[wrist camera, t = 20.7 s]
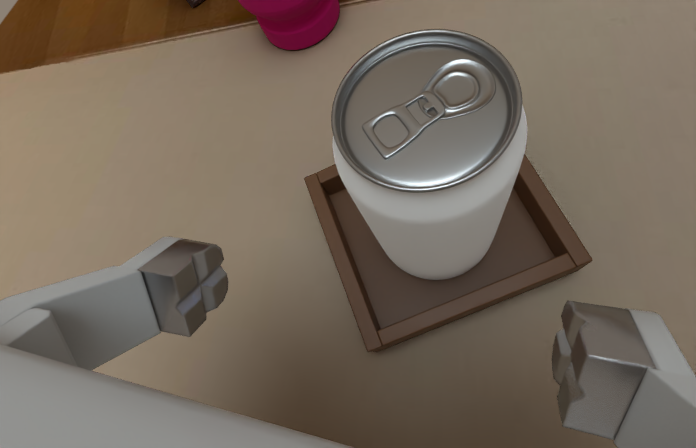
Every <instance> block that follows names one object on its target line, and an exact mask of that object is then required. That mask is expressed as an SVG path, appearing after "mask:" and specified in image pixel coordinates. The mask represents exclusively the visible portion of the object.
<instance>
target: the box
mask: <svg viewBox="0 0 696 448" xmlns="http://www.w3.org/2000/svg"><path fill="white" fill-rule="evenodd" d="M186 1H187V2H188V3H189V4H190V6H191V7H194V6H197V5H198V4H200V3H201V2H202V1H204V0H186Z"/></svg>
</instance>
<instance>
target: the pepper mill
mask: <svg viewBox="0 0 696 448" xmlns="http://www.w3.org/2000/svg"><path fill="white" fill-rule="evenodd" d="M238 1H239V2H240V4H241V5H242V6H243V7H244V8H245V9H246V10H248V11H249V12H251V13H252V14H254V15H256V17H257V20H258V22H259V24H260V26H261V28H262V30H263V31H264V33H265V35H266V36H267V38H268V40H269V41H270V42H271V43H272V44H274V45H275V46H277V47H279V48H282V49H286V50H299V49H303V48H307V47H309V46H312V45H314V44H316V43H317V42H319V41H320V40H322V39H323V38H325V37H326V36H327V35H328V34H329V32H330V31H331V30H332V29H333V28H334V26H335V24H336V22H337V20H338V17H339V11H340V7H339V1H338V0H238Z"/></svg>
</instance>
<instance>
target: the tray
mask: <svg viewBox="0 0 696 448" xmlns="http://www.w3.org/2000/svg"><path fill="white" fill-rule="evenodd" d="M304 180H305V182H306V185H307V188H308V191H309V193H310V196H311V199H312V201H313V204H314V207H315V210H316V212H317V215H318V218H319V221H320V223H321V226H322V229H323V231H324V234H325V237H326V240H327V242H328V245H329V248H330V251H331V253H332V256H333V259H334V261H335V264H336V267H337V270H338V272H339V275H340V278H341V281H342V283H343V286H344V289H345V291H346V294H347V297H348V300H349V302H350V305H351V308H352V311H353V313H354V316H355V319H356V322H357V324H358V327H359V330H360V332H361V335H362V338H363V341H364V343H365V346H366V349H367V351H368V352H378V351H381V350H383V349H386V348H388V347H391V346H393V345H396V344H398V343H401V342H403V341H406V340H408V339H411V338H413V337H416V336H418V335H420V334H423V333H425V332H428V331H430V330H433V329H435V328H438V327H440V326H443V325H445V324H448V323H450V322H453V321H455V320H457V319H460V318H462V317H465V316H467V315H470V314H472V313H475V312H477V311H480V310H482V309H485V308H487V307H490V306H492V305H495V304H497V303H499V302H502V301H504V300H507V299H509V298H512V297H514V296H517V295H519V294H522V293H524V292H527V291H529V290H532V289H534V288H536V287H539V286H541V285H544V284H546V283H549V282H551V281H554V280H556V279H559V278H561V277H564V276H566V275H569V274H571V273H573V272H576V271H578V270H579V269H581V268H582V267H584V266H585V265H587V264H588V263H590V262H591V261H592V258H591V256H590V255H589V253H588V252H587V250H586V249H585V247H584V246H583V244H582V242H581V241H580V239H579V238H578V236H577V235H576V233H575V232H574V230H573V228H572V227H571V225H570V224H569V222H568V221H567V219H566V218H565V216H564V214H563V213H562V211H561V210H560V208H559V207H558V205H557V204H556V202H555V200H554V199H553V197H552V196H551V194H550V193H549V191H548V190H547V188H546V186H545V185H544V183H543V182H542V180H541V179H540V177H539V175H538V174H537V172H536V171H535V169H534V168H533V166H532V165H531V163H530V161H529V160H528V158H527V157H526V155H525V154H524V156H523V160H522V163H521V166H520V169H519V172H518V175H517V178H516V180H515V183H514V186H513V188H512V191H511V194H510V197H509V199H508V202H507V205H506V207H505V210H504V213H503V215H502V218H501V220H500V223H499V226H498V228H497V231H496V233H495V236H494V238H493V241H492V243H491V245H490V247H489V249H488V251H487V253H486V254H485V256H484V257H483V258H482V259H481V261H480V262H479V263H478V264H477V265H476V266H474V267H473V268H472V269H470V270H469V271H467V272H465V273H464V274H461V275H459V276H456V277H453V278H450V279H444V280H428V279H422V278H419V277H416V276H413V275H411V274H409V273H407V272H405V271H403V270H402V269H400V268H399V267H398V266H397V265H396V264H395V263H393V261H392V260H391V259H390V258H389V257H388V255H387V254H386V253H385V251H384V250H383V248H382V246H381V245H380V243H379V242H378V240H377V239H376V237H375V235H374V234H373V232H372V231H371V229H370V227H369V226H368V224H367V222H366V221H365V219H364V217H363V216H362V214H361V213H360V211H359V209H358V208H357V206H356V204H355V203H354V201H353V199H352V198H351V196H350V194H349V193H348V191H347V189H346V187H345V185H344V183H343V182H342V180H341V178H340V175H339V173H338V170H337V167H336V164H334V165H332V166H330V167H328V168H326V169H324V170H321V171H319V172H317V174H316V173H314V174H312V175H310V176H308V177H306V178H304Z"/></svg>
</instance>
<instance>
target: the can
mask: <svg viewBox="0 0 696 448" xmlns="http://www.w3.org/2000/svg"><path fill="white" fill-rule="evenodd" d="M331 122H332V131H333V155H334V160H335V164H336V167H337V170H338V173H339V175H340V178H341V180H342V182H343V183H344V185H345V187H346V189H347V191H348V193H349V194H350V196H351V198H352V199H353V201H354V203H355V204H356V206H357V208H358V209H359V211H360V213H361V214H362V216H363V217H364V219H365V221H366V222H367V224H368V226H369V227H370V229H371V231H372V232H373V234H374V235H375V237H376V239H377V240H378V242H379V243H380V245H381V246H382V248H383V250H384V251H385V253H386V254H387V255H388V257H389V258H390V259H391V260H392V261H393V263H395V264H396V265H397V266H398V267H399V268H400V269H402V270H403V271H405V272H407V273H409V274H411V275H413V276H416V277H419V278H422V279H428V280H444V279H450V278H453V277H456V276H459V275H461V274H464V273H465V272H467V271H469V270H470V269H472V268H473V267H474V266H476V265H477V264H478V263H479V262H480V261H481V259H482V258H483V257H484V256H485V254H486V253H487V251H488V249H489V247H490V245H491V243H492V241H493V238H494V236H495V233H496V231H497V228H498V226H499V223H500V220H501V218H502V215H503V213H504V210H505V207H506V205H507V202H508V199H509V197H510V194H511V191H512V188H513V186H514V183H515V180H516V178H517V175H518V172H519V169H520V166H521V163H522V160H523V156H524V152H525V148H526V140H527V121H526V115H525V111H524V108H523V105H522V92H521V87H520V83H519V80H518V77H517V75H516V73H515V71H514V69H513V67H512V66H511V64H510V63H509V62H508V60H507V59H506V58H505V57H504V56H503V55H502V54H501V53H500V52H499V51H498V50H497V49H496V48H495V47H493V46H492V45H490V44H489V43H487V42H485V41H484V40H482V39H480V38H478V37H475V36H473V35H470V34H467V33H463V32H459V31H454V30H446V29H427V30H419V31H413V32H409V33H405V34H402V35H399V36H396V37H394V38H391V39H389V40H387V41H385V42H383V43H381V44H379V45H378V46H376V47H374V48H373V49H371V50H370V51H369V52H367V53H366V54H365V55H363V56H362V57H361V58H360V59H359V60H358V61H357V62H356V63H355V64H354V65H353V66H352V67H351V69H350V70H349V71H348V72H347V74H346V75H345V77H344V78H343V80H342V82H341V84H340V86H339V88H338V90H337V92H336V95H335V98H334V102H333V107H332V116H331Z"/></svg>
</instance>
